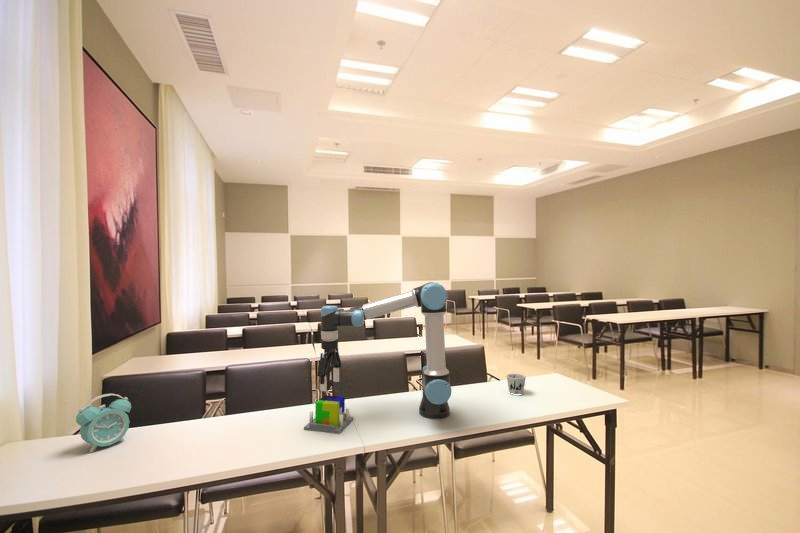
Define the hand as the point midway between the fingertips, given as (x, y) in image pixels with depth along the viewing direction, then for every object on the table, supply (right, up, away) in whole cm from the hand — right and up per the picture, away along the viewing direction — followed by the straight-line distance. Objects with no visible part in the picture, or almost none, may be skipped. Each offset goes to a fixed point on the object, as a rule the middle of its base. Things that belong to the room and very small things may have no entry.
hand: (330, 386), depth 165 cm
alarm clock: (-87, -17, -20) cm, 91 cm away
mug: (+99, -18, +44) cm, 110 cm away
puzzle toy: (0, -16, 0) cm, 16 cm away
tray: (0, -17, 0) cm, 17 cm away
